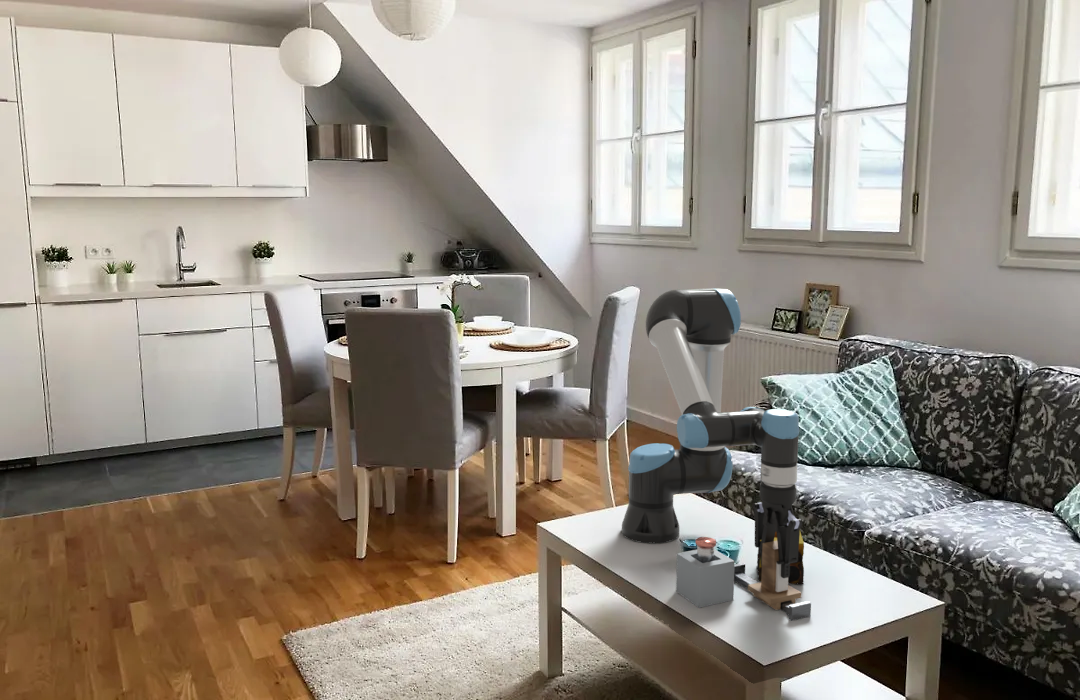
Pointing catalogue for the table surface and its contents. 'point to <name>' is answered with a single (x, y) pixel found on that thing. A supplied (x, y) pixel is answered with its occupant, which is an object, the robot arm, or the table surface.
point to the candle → (795, 568)
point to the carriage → (771, 580)
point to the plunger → (705, 549)
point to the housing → (705, 578)
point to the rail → (788, 607)
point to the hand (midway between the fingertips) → (774, 585)
